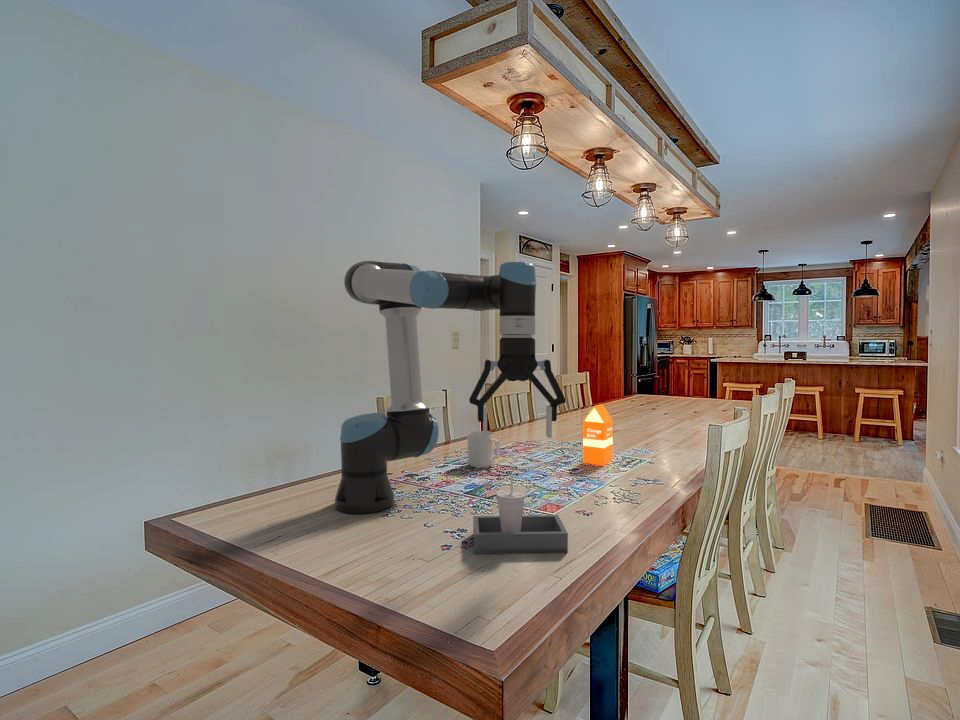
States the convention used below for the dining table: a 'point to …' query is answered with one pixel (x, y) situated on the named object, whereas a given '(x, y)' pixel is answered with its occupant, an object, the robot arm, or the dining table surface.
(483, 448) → the mug
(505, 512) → the smoothie
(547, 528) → the tray
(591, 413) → the orange juice
